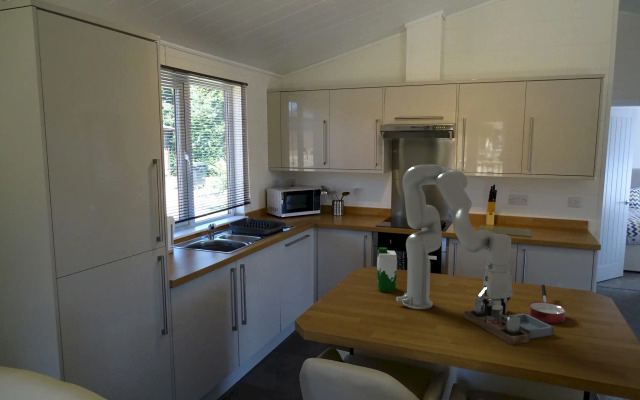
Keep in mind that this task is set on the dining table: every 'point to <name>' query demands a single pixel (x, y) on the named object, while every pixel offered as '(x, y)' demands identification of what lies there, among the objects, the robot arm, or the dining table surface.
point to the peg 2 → (512, 325)
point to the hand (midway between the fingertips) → (494, 313)
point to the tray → (533, 326)
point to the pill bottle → (495, 313)
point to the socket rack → (498, 329)
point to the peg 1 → (479, 308)
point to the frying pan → (547, 310)
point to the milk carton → (386, 270)
